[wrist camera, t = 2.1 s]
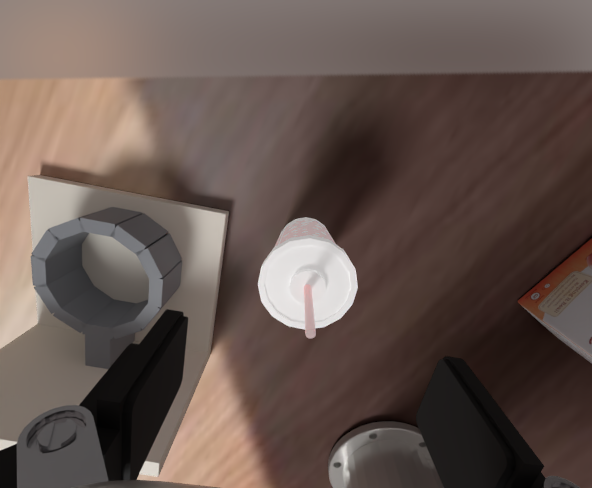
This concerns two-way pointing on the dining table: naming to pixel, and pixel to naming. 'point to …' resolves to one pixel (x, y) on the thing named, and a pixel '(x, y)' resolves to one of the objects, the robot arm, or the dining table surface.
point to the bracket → (109, 296)
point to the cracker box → (566, 301)
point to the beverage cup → (307, 277)
